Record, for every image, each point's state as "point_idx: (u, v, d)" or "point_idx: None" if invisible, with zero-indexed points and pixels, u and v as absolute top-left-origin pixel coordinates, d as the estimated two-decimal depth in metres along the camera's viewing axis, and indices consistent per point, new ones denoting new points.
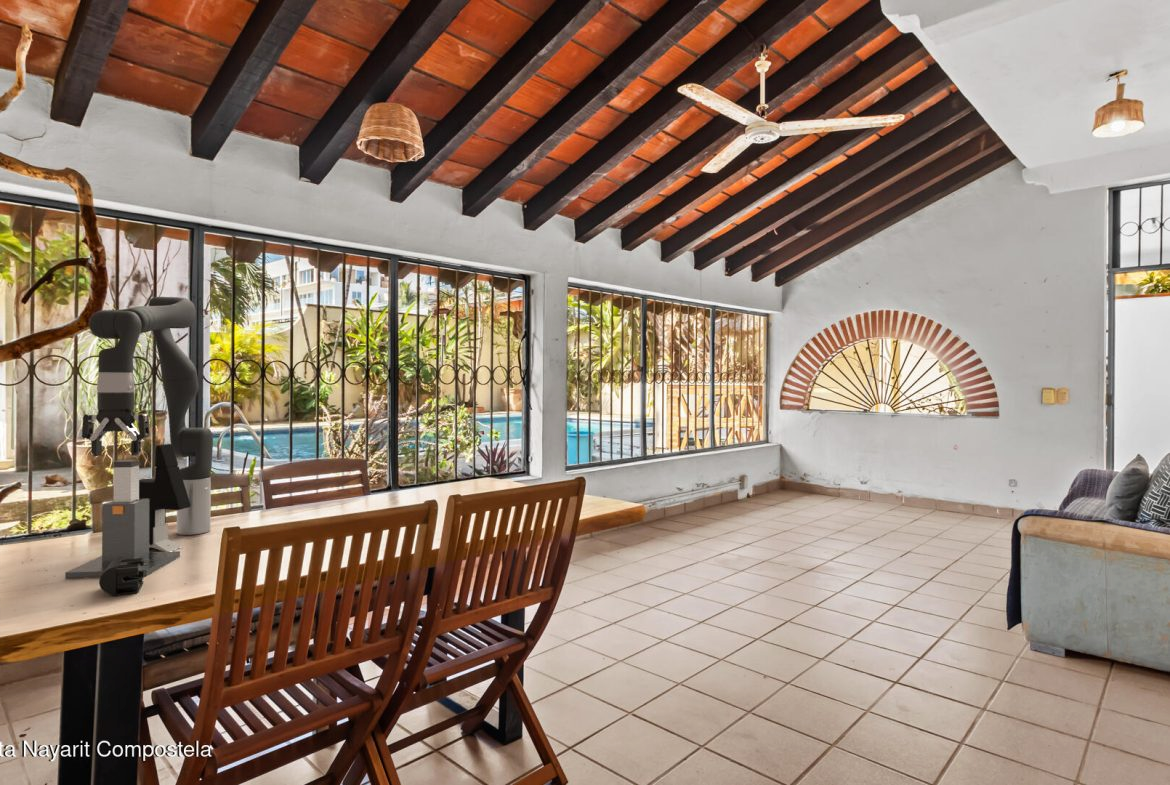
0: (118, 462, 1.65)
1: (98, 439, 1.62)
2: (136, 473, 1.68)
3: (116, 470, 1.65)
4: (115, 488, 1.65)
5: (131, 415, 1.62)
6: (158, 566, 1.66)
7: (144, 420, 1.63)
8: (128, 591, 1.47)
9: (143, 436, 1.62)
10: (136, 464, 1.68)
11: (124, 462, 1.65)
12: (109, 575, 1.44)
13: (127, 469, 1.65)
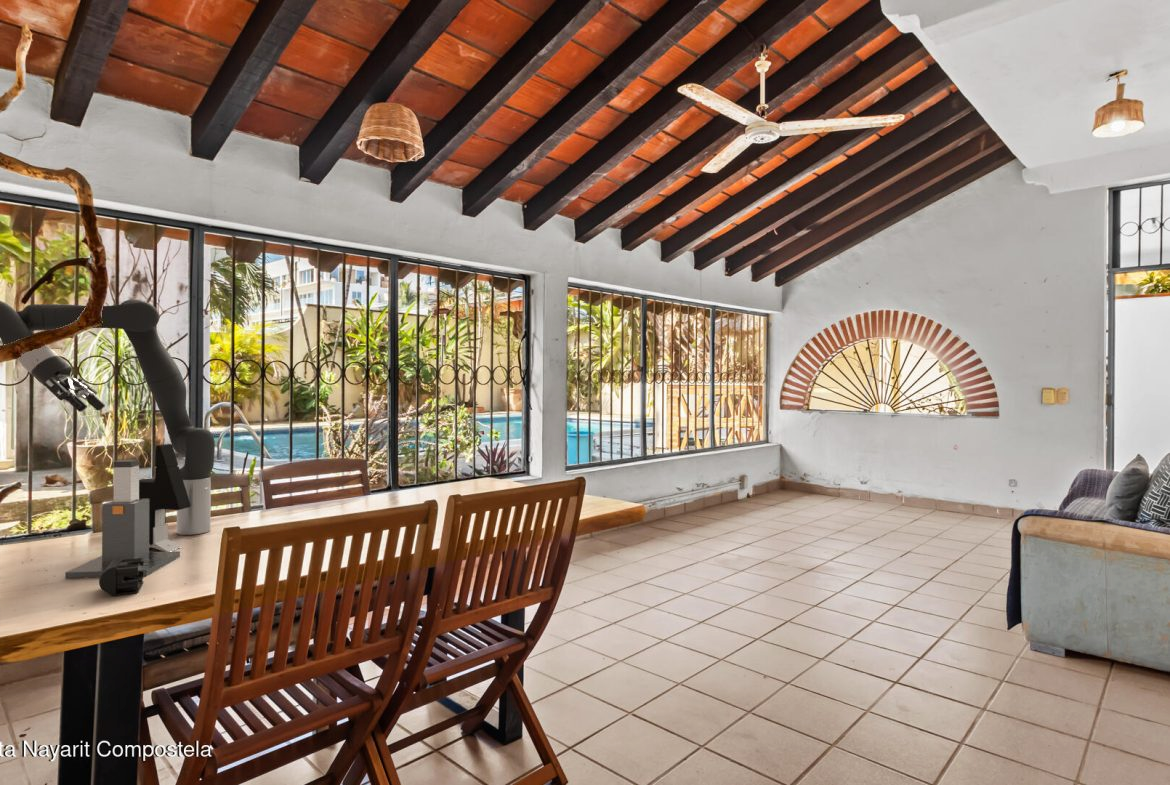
0: (118, 462, 1.65)
1: (89, 397, 1.76)
2: (136, 473, 1.68)
3: (116, 470, 1.65)
4: (115, 488, 1.65)
5: None
6: (158, 566, 1.66)
7: (48, 386, 1.65)
8: (128, 591, 1.47)
9: None
10: (136, 464, 1.68)
11: (124, 462, 1.65)
12: (109, 575, 1.44)
13: (127, 469, 1.65)
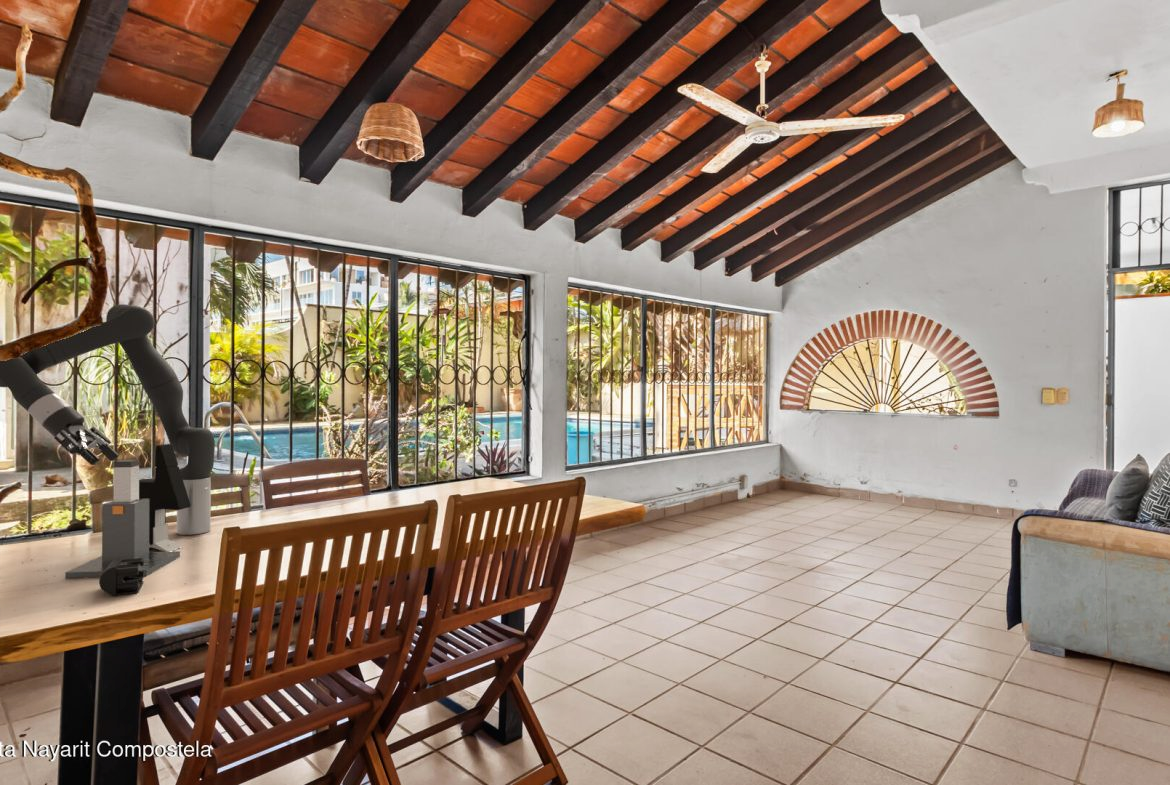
0: (118, 462, 1.65)
1: (103, 447, 1.70)
2: (136, 473, 1.68)
3: (116, 470, 1.65)
4: (115, 488, 1.65)
5: None
6: (158, 566, 1.66)
7: (59, 440, 1.59)
8: (128, 591, 1.47)
9: (70, 453, 1.59)
10: (136, 464, 1.68)
11: (124, 462, 1.65)
12: (109, 575, 1.44)
13: (127, 469, 1.65)
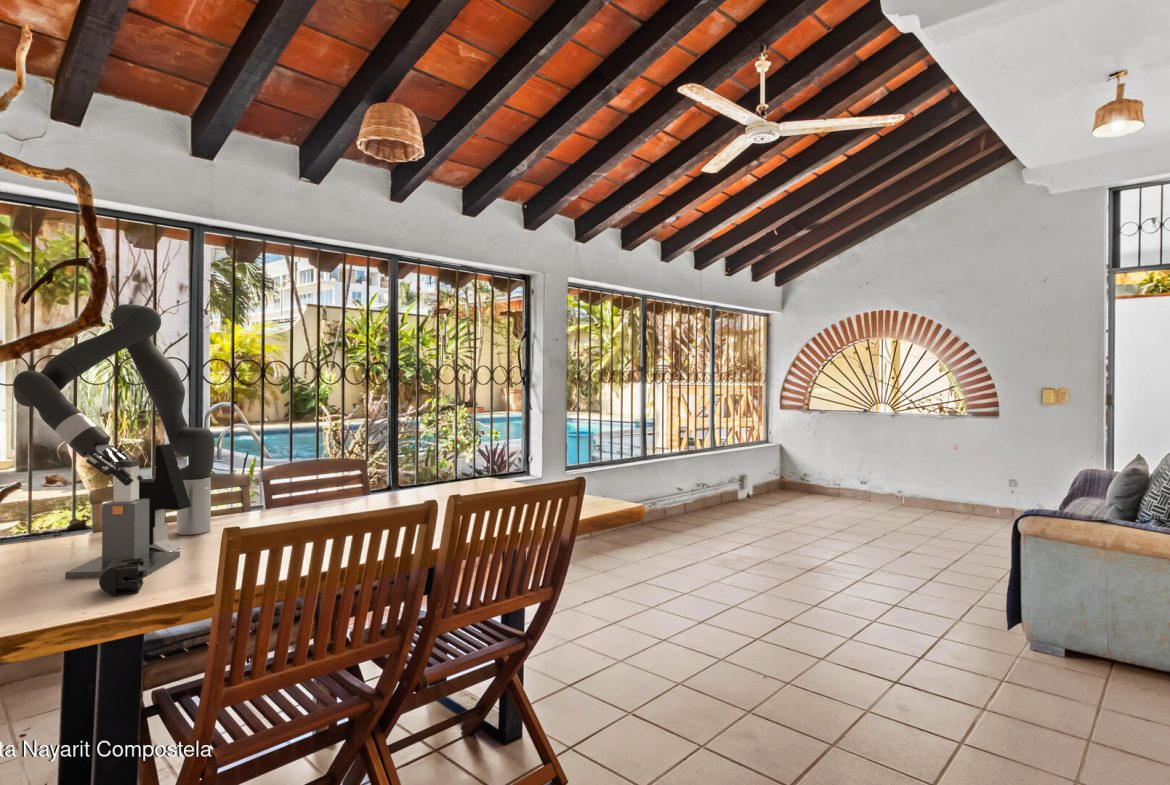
0: (118, 462, 1.65)
1: None
2: (136, 474, 1.68)
3: None
4: (115, 488, 1.65)
5: (90, 456, 1.62)
6: (158, 566, 1.66)
7: (92, 464, 1.60)
8: (128, 591, 1.47)
9: (106, 474, 1.62)
10: (136, 464, 1.68)
11: (124, 462, 1.65)
12: (109, 575, 1.44)
13: (127, 469, 1.65)
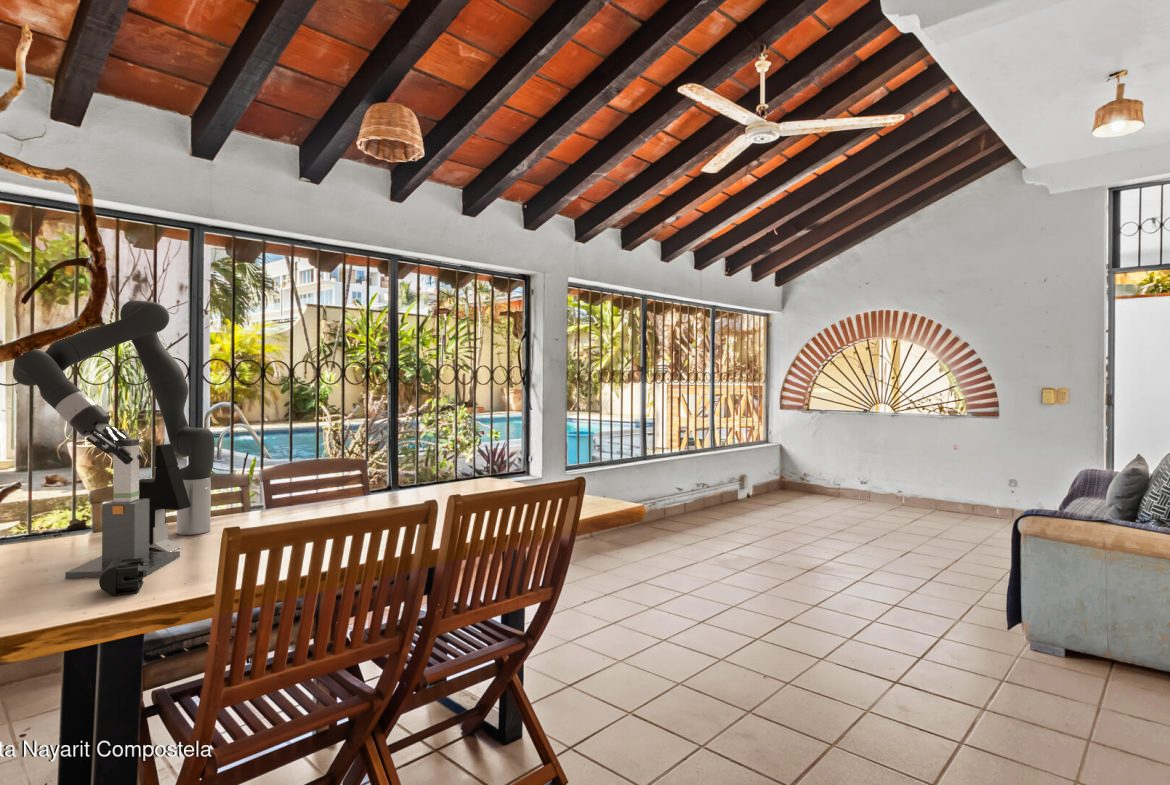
0: (118, 441, 1.65)
1: None
2: (136, 453, 1.68)
3: None
4: (116, 467, 1.65)
5: (91, 435, 1.62)
6: (158, 566, 1.66)
7: (92, 442, 1.60)
8: (128, 591, 1.47)
9: (106, 452, 1.62)
10: (136, 443, 1.68)
11: (124, 441, 1.65)
12: (109, 575, 1.44)
13: (127, 448, 1.65)
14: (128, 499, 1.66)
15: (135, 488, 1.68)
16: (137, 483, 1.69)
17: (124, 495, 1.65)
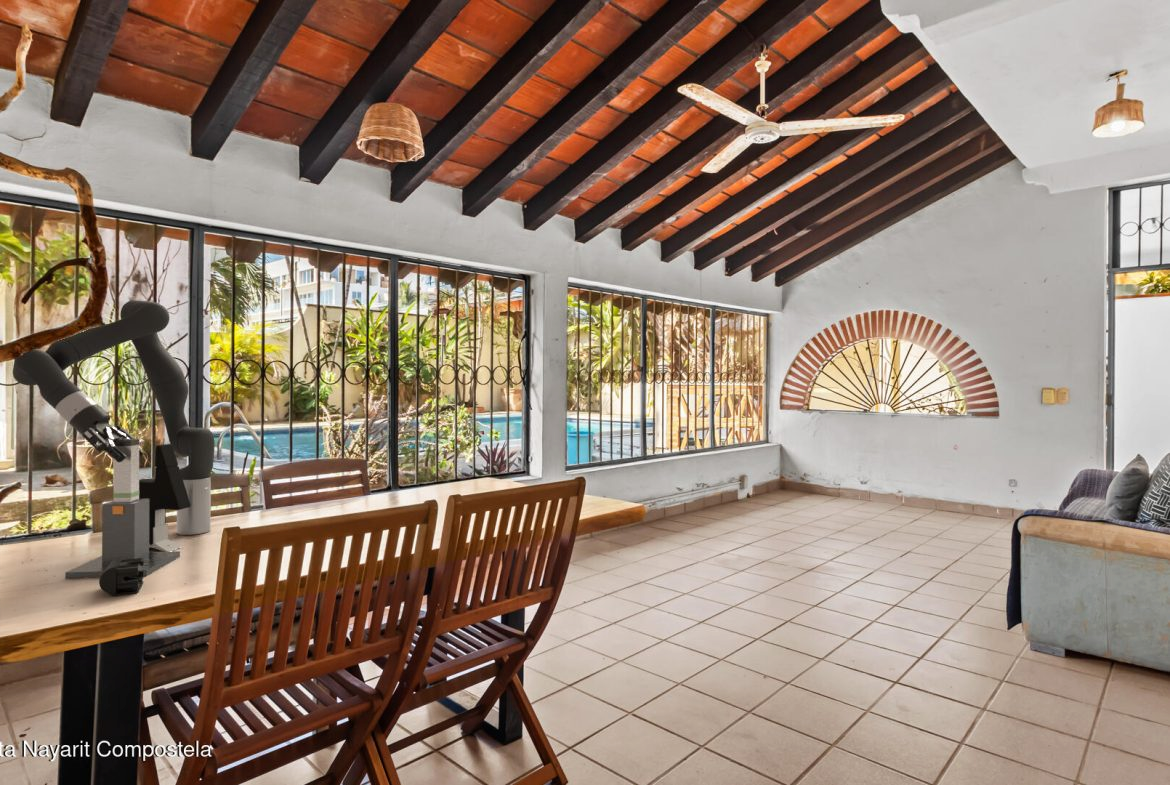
0: (118, 441, 1.65)
1: None
2: (136, 452, 1.68)
3: None
4: (116, 467, 1.65)
5: None
6: (158, 566, 1.66)
7: (87, 438, 1.60)
8: (128, 591, 1.47)
9: (98, 450, 1.60)
10: (136, 443, 1.68)
11: (124, 441, 1.65)
12: (109, 575, 1.44)
13: (127, 448, 1.65)
14: (128, 499, 1.66)
15: (135, 488, 1.68)
16: (137, 483, 1.69)
17: (124, 495, 1.65)
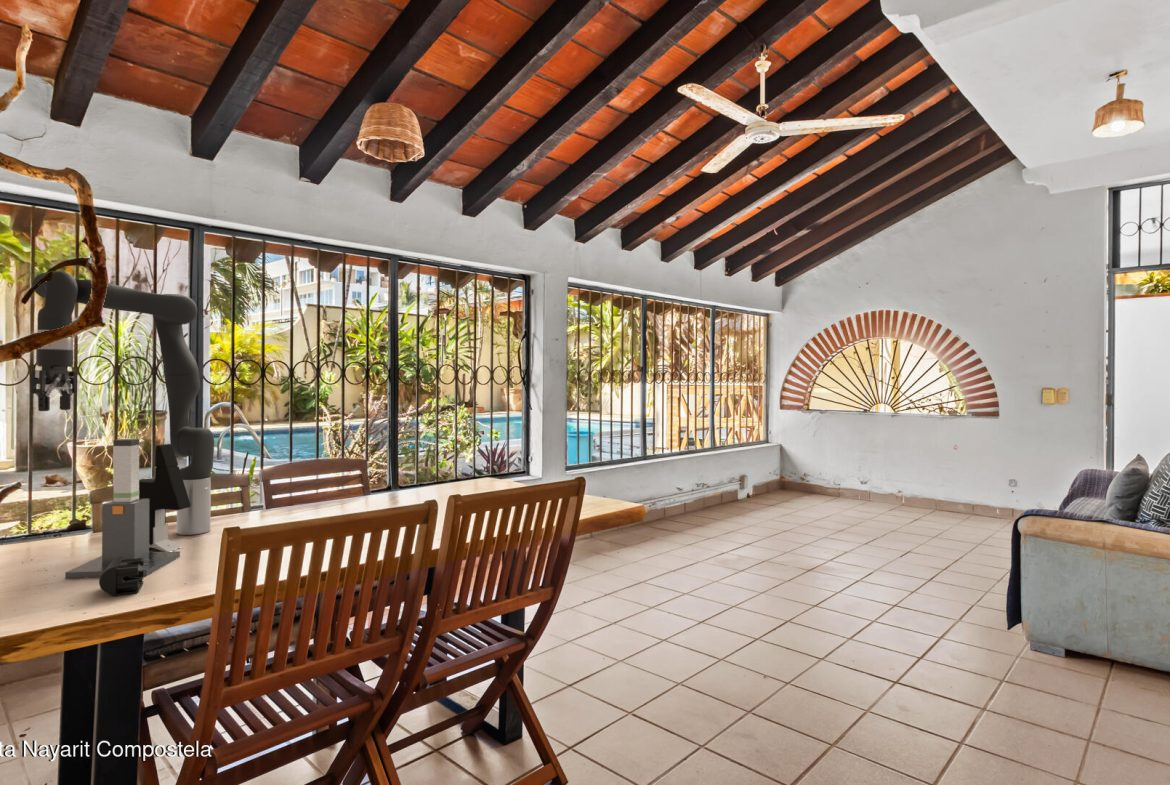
0: (118, 441, 1.65)
1: (64, 394, 1.74)
2: (136, 452, 1.68)
3: (116, 449, 1.65)
4: (116, 467, 1.65)
5: None
6: (158, 566, 1.66)
7: (33, 376, 1.63)
8: (128, 591, 1.47)
9: None
10: (136, 443, 1.68)
11: (124, 441, 1.65)
12: (109, 575, 1.44)
13: (127, 448, 1.65)
14: (128, 499, 1.66)
15: (135, 488, 1.68)
16: (137, 483, 1.69)
17: (124, 495, 1.65)
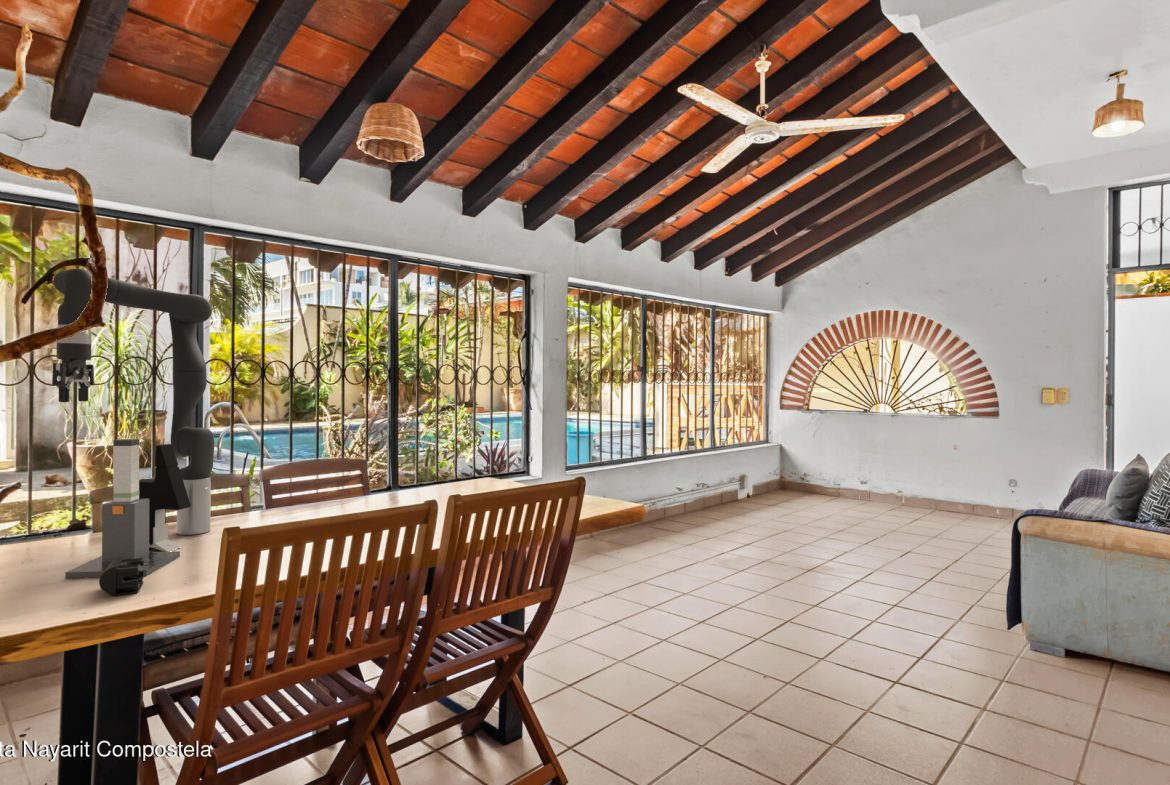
0: (118, 441, 1.65)
1: (83, 386, 1.82)
2: (136, 452, 1.68)
3: (116, 449, 1.65)
4: (116, 467, 1.65)
5: None
6: (158, 566, 1.66)
7: (54, 368, 1.71)
8: (128, 591, 1.47)
9: None
10: (136, 443, 1.68)
11: (124, 441, 1.65)
12: (109, 575, 1.44)
13: (127, 448, 1.65)
14: (128, 499, 1.66)
15: (135, 488, 1.68)
16: (137, 483, 1.69)
17: (124, 495, 1.65)
